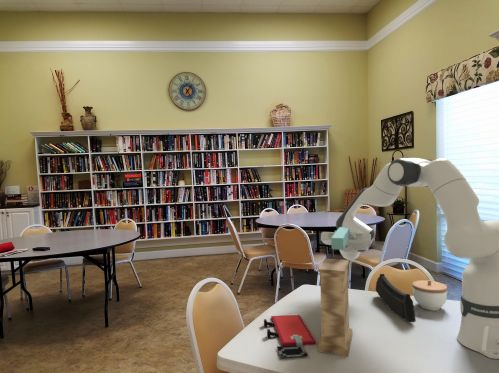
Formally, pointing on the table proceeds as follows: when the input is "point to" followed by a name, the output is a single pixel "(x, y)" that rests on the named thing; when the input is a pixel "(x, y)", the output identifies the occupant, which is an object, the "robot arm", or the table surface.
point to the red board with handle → (290, 335)
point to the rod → (340, 238)
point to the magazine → (395, 299)
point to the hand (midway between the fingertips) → (343, 232)
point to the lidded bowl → (429, 294)
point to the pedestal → (334, 307)
